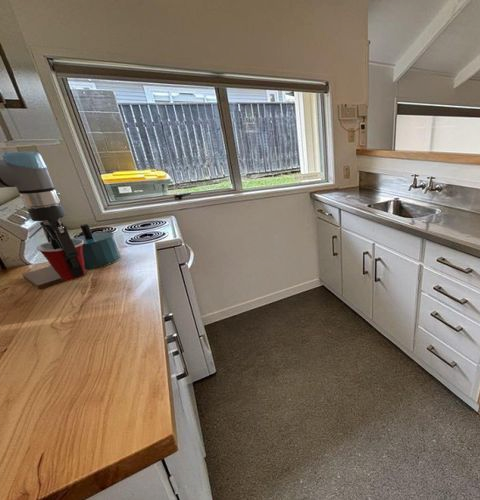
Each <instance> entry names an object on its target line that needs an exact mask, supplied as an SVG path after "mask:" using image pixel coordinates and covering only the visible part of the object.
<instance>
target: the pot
mask: <svg viewBox="0 0 480 500" xmlns="http://www.w3.org/2000/svg"><path fill="white" fill-rule="evenodd" d="M82 248H83V250H82V251H83V258H84V264H85V265H84V267H85V271H86V270H93V268H94V269H97V268H96V267H99V268H101V267H100V266H103V267H105V266H104V265H106V266H108V265H107V264H109V263H112V262H114V261H116V260H118V259H119V258H120V257H121V254H120V251H119V248H118V245H117V243H116V240H115V237H114V236H113V237H112V238H110V239H108V240H105V241H102V242H99V243H95V244H91V245H85V246H83V247H82ZM120 259H121V258H120ZM120 259H119V260H120ZM119 260H118V261H119ZM116 262H117V261H116ZM114 263H115V262H114ZM112 264H113V263H112ZM109 265H110V264H109Z"/></svg>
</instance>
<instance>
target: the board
mask: <svg viewBox="0 0 480 500" xmlns="http://www.w3.org/2000/svg"><path fill="white" fill-rule="evenodd" d="M21 275H22V277H23V278H24V279H25V280H26V281H27V282H29V283H30V284H32V285H33V286H35V288H37V289H38V290H42V289H46V288H49V287H52V286H54V285H58V284H60V283H64V282H66V281H65V280H63V279H61V277H60V276H59V275H58V273H57V272H56V271H55V270H54V268H53V267H52V266H51V265H48V266H46V267H42V268H39V269H34V270H32V271H28V272H25V273H21Z"/></svg>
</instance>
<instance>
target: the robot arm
mask: <svg viewBox="0 0 480 500" xmlns="http://www.w3.org/2000/svg"><path fill="white" fill-rule="evenodd" d="M1 157H2V159H0V189H2V188H16V189H17V191H18V194H19V197H20V199H21V200H22V204H23V205H24V207H25V208H27V209H26V212H27V213H28V216H29V218H30V219H31V221H33V222H39V225H40V226H41V228H42V230H43V233H44V236H45V238H46V240H47V242H51V245H52V247H53V249H54V250H56V249H58V248H60V249H63V250H62V251H63V254H64V256H65V258H63V260H65V261H66V263H67V265H68V267H69V270H70V272H71V274H72V277H73V278H76V277H79V276H82V275H84V272H83V270H82V268H81V265H80V263H79V260H78V258H77V256H79V254H78V253H77V251H76V249H75V246H74V244H73V242H72V240H71V239H72V238H71V236H70V234H69V231H68V228H67V226H66V225H64V222H63V223H62V222H61V221H60V220H59V219H62V218H64V217H66V216H67V215H66V212H65V209H64V206H63V205H62V204H60V203H61V200H60V198H59V196H61V194H60V192H58V191H57V190H56V187H55V186H54V183H53V181H52V178H51V176H50V173H49V170H48V166H47V165H46V163H45V161H44V159H43V157H42V155H41V154H40V153H39V152H37V151H32V150H31V151H30V150H29V151H5V152H3V153H2V154H1ZM71 253H72V254H71ZM84 276H85V275H84Z"/></svg>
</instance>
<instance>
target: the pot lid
mask: <svg viewBox="0 0 480 500" xmlns="http://www.w3.org/2000/svg"><path fill="white" fill-rule="evenodd" d="M79 227H80V229H81V231H82V234H83V235H80V236H76V237H73V238H72V239H81V240H83V241H84V243H83V246H85V245H91V244H95V243H99V242H102V241H105V240H108V239H110V238H112V237H113V238H114V237H115V235H114V233H113V232H107V231H106V232H94V233H93V232H92V230H91V227H90V225H89V223H83V224H80V225H79Z"/></svg>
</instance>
